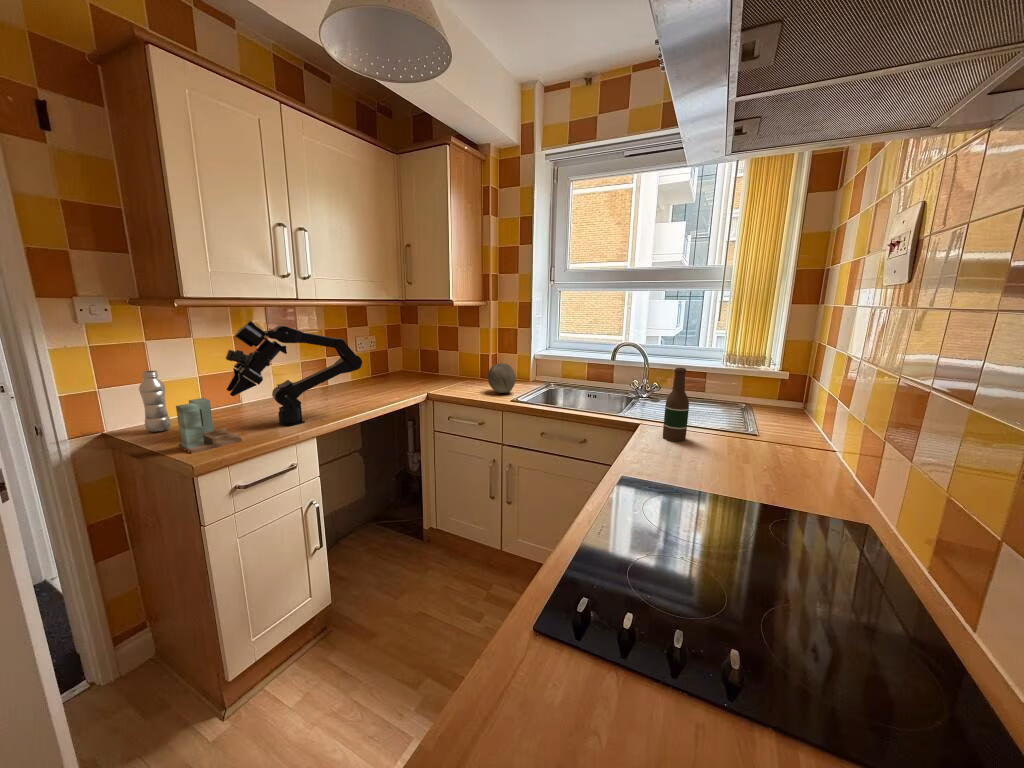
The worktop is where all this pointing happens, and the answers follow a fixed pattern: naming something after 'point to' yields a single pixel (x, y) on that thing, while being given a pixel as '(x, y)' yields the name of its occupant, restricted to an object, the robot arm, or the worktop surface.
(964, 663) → the worktop surface
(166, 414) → the plastic bottle
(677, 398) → the beer bottle
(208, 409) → the block
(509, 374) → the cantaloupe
